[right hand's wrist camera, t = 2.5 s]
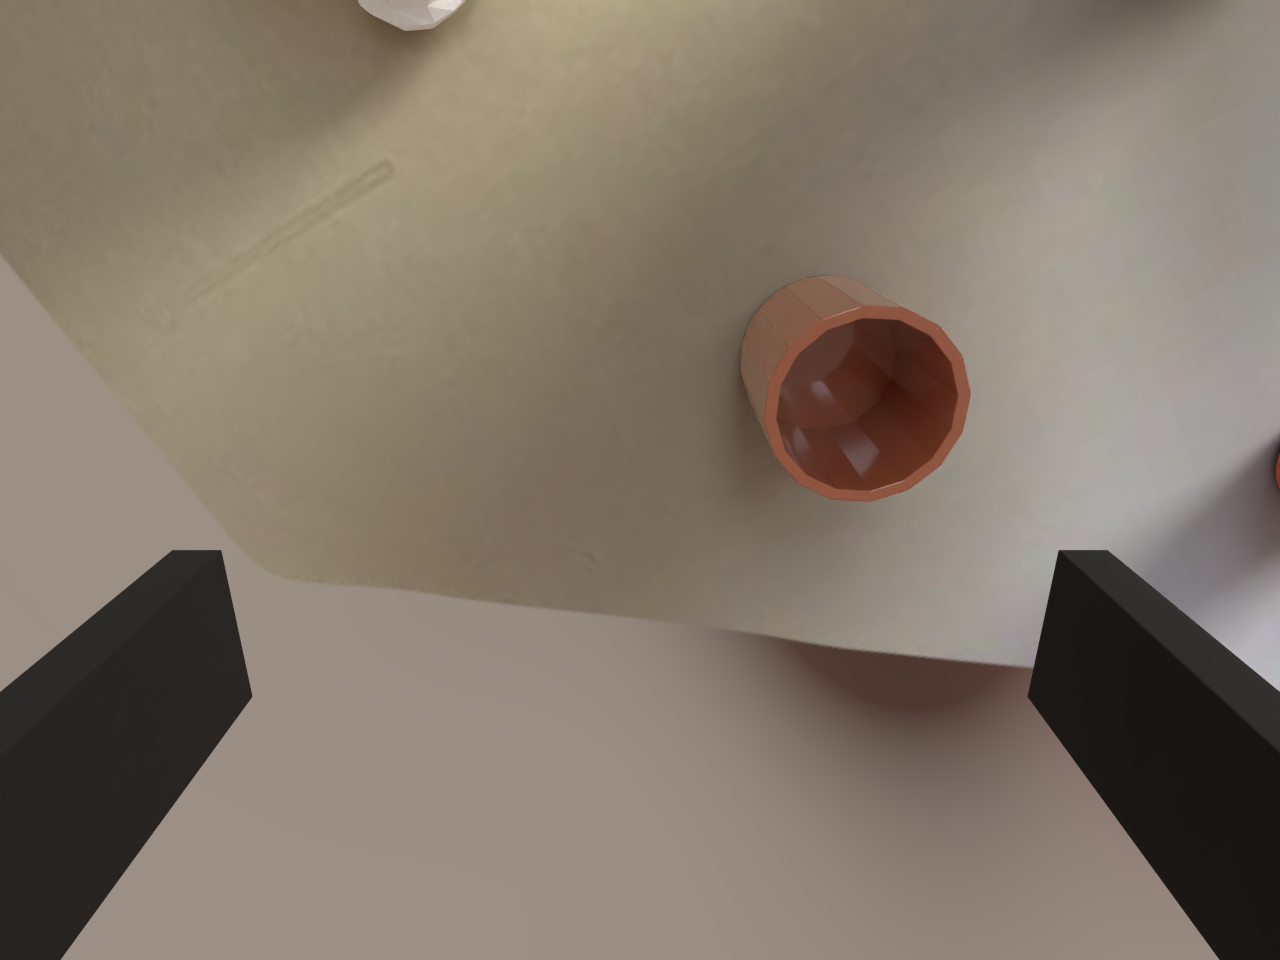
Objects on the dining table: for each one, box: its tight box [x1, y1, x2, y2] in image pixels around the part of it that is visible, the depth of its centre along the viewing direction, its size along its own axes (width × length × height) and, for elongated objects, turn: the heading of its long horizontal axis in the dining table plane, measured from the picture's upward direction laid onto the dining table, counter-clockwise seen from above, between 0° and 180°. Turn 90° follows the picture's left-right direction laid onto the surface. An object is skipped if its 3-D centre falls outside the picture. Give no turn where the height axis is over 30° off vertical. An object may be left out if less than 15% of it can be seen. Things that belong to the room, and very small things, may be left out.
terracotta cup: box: [740, 276, 970, 501], centre depth 36 cm, size 8×8×9 cm
